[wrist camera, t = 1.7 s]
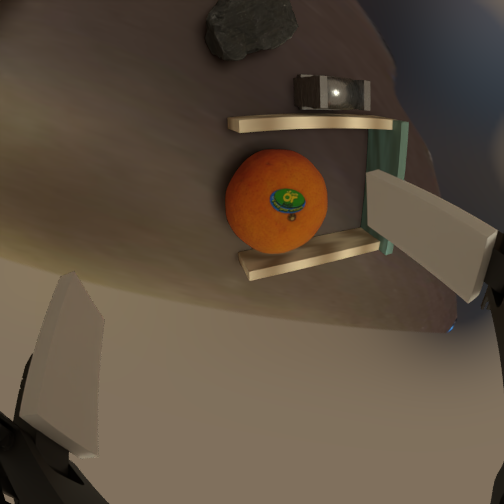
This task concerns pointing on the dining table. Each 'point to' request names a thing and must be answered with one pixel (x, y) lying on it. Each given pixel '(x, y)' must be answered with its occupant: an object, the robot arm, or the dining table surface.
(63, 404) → the robot arm
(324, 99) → the dark grey bracket
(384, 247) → the bay
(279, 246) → the fruit
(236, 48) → the rock
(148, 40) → the dining table surface
